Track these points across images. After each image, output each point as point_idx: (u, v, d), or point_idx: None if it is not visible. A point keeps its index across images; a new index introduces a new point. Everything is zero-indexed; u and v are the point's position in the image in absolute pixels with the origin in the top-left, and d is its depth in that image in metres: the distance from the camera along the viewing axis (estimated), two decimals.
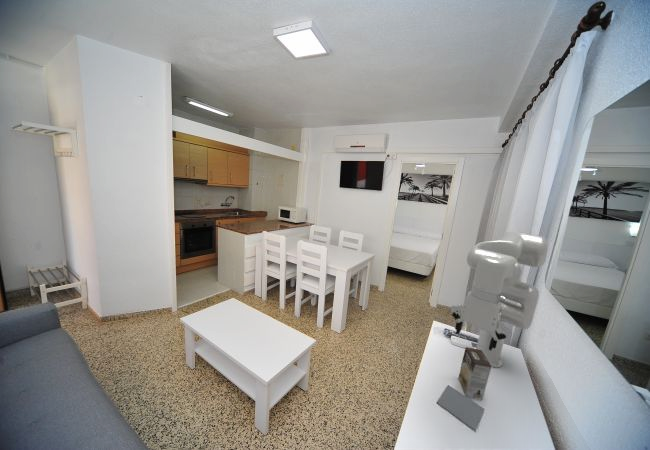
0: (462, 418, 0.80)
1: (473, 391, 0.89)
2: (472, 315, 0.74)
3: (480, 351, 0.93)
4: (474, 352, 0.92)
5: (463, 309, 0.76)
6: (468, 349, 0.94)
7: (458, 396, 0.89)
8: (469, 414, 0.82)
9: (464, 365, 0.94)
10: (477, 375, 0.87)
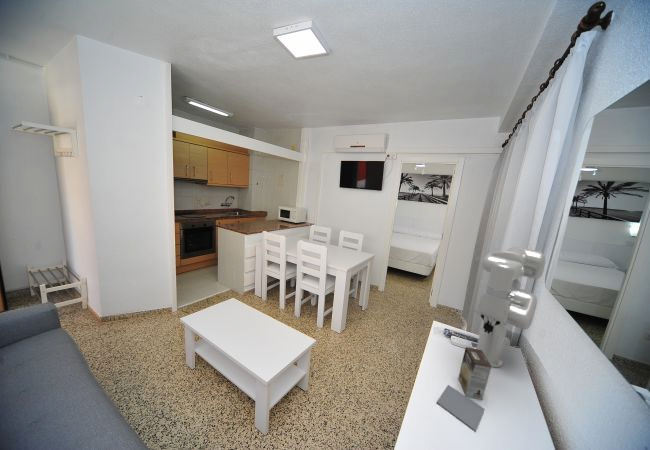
0: (462, 418, 0.80)
1: (473, 391, 0.89)
2: (487, 308, 0.93)
3: (480, 351, 0.93)
4: (474, 352, 0.92)
5: (479, 304, 0.95)
6: (468, 349, 0.94)
7: (458, 396, 0.89)
8: (469, 414, 0.82)
9: (464, 365, 0.94)
10: (477, 375, 0.87)
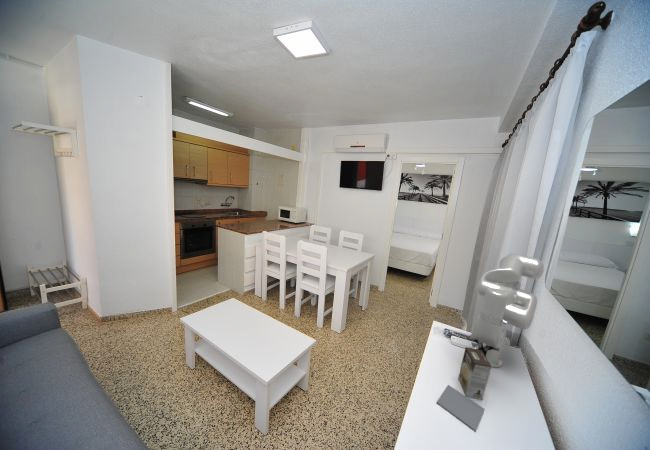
0: (462, 418, 0.80)
1: (473, 391, 0.89)
2: (481, 334, 0.95)
3: (480, 351, 0.93)
4: (474, 352, 0.92)
5: (473, 329, 0.97)
6: (468, 349, 0.94)
7: (458, 396, 0.89)
8: (469, 414, 0.82)
9: (464, 365, 0.94)
10: (477, 375, 0.87)
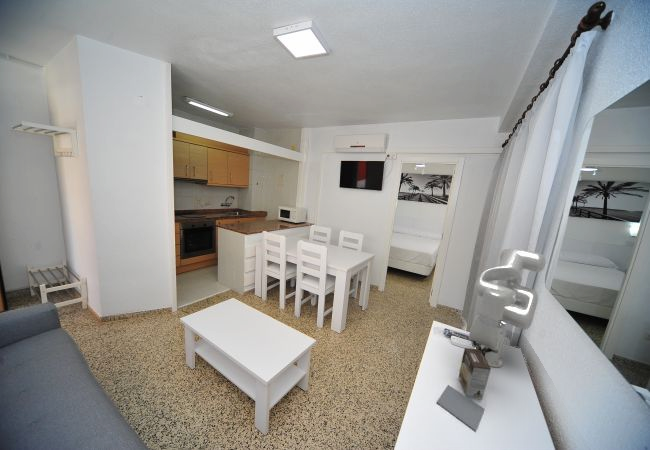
0: (462, 418, 0.80)
1: (473, 391, 0.88)
2: (479, 335, 0.92)
3: (479, 351, 0.91)
4: (473, 353, 0.91)
5: (471, 330, 0.94)
6: (467, 350, 0.92)
7: (458, 396, 0.89)
8: (469, 414, 0.82)
9: (463, 366, 0.93)
10: (477, 377, 0.86)
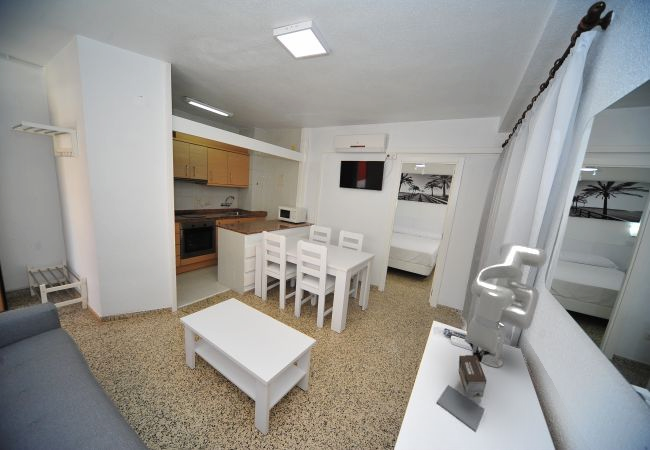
0: (462, 418, 0.80)
1: (472, 394, 0.87)
2: (476, 337, 0.88)
3: (475, 358, 0.86)
4: (468, 361, 0.85)
5: (468, 332, 0.90)
6: (462, 359, 0.87)
7: (458, 396, 0.89)
8: (469, 414, 0.82)
9: (460, 370, 0.90)
10: (473, 387, 0.83)
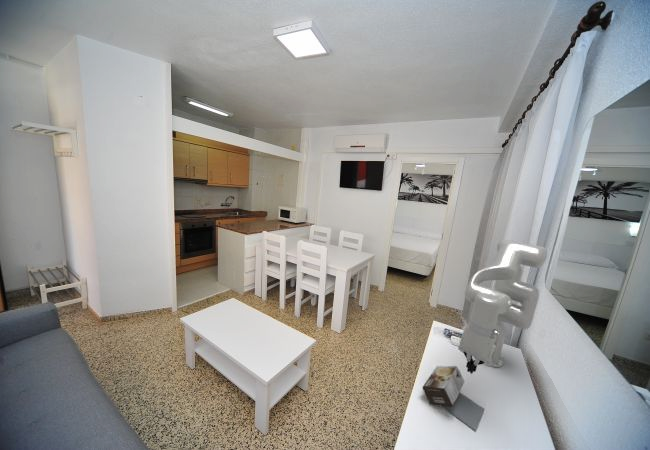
0: (462, 418, 0.80)
1: (459, 380, 0.89)
2: (469, 346, 0.82)
3: (425, 389, 0.86)
4: (432, 398, 0.84)
5: (461, 340, 0.84)
6: (432, 403, 0.84)
7: (458, 396, 0.89)
8: (469, 414, 0.82)
9: None
10: (454, 391, 0.84)
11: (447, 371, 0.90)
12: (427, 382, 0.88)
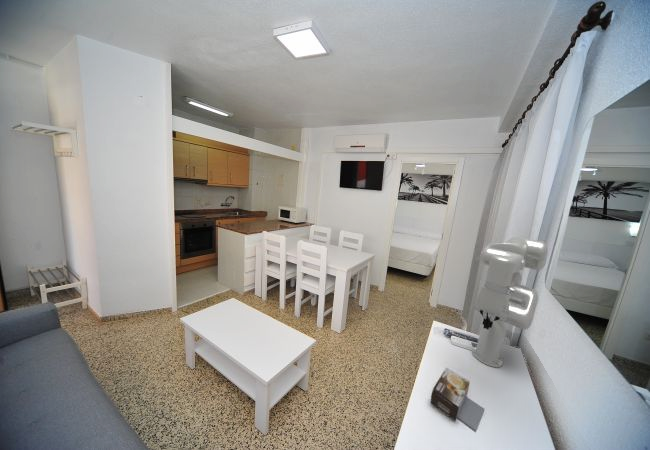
0: (462, 418, 0.80)
1: (466, 394, 0.88)
2: (486, 304, 0.88)
3: (435, 393, 0.83)
4: (437, 401, 0.83)
5: (478, 299, 0.90)
6: (433, 403, 0.84)
7: None
8: (469, 414, 0.82)
9: None
10: (461, 406, 0.82)
11: (460, 383, 0.87)
12: (438, 385, 0.86)
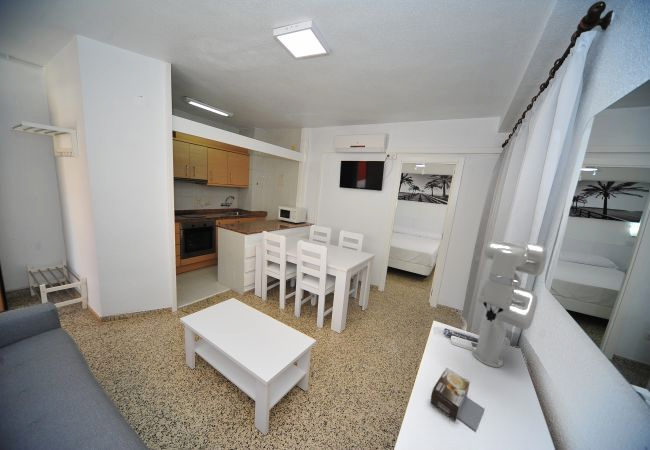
0: (462, 418, 0.80)
1: (466, 394, 0.88)
2: (490, 296, 0.91)
3: (435, 393, 0.83)
4: (437, 401, 0.83)
5: (482, 292, 0.93)
6: (433, 403, 0.84)
7: None
8: (469, 414, 0.82)
9: None
10: (461, 406, 0.82)
11: (460, 383, 0.87)
12: (438, 385, 0.86)
